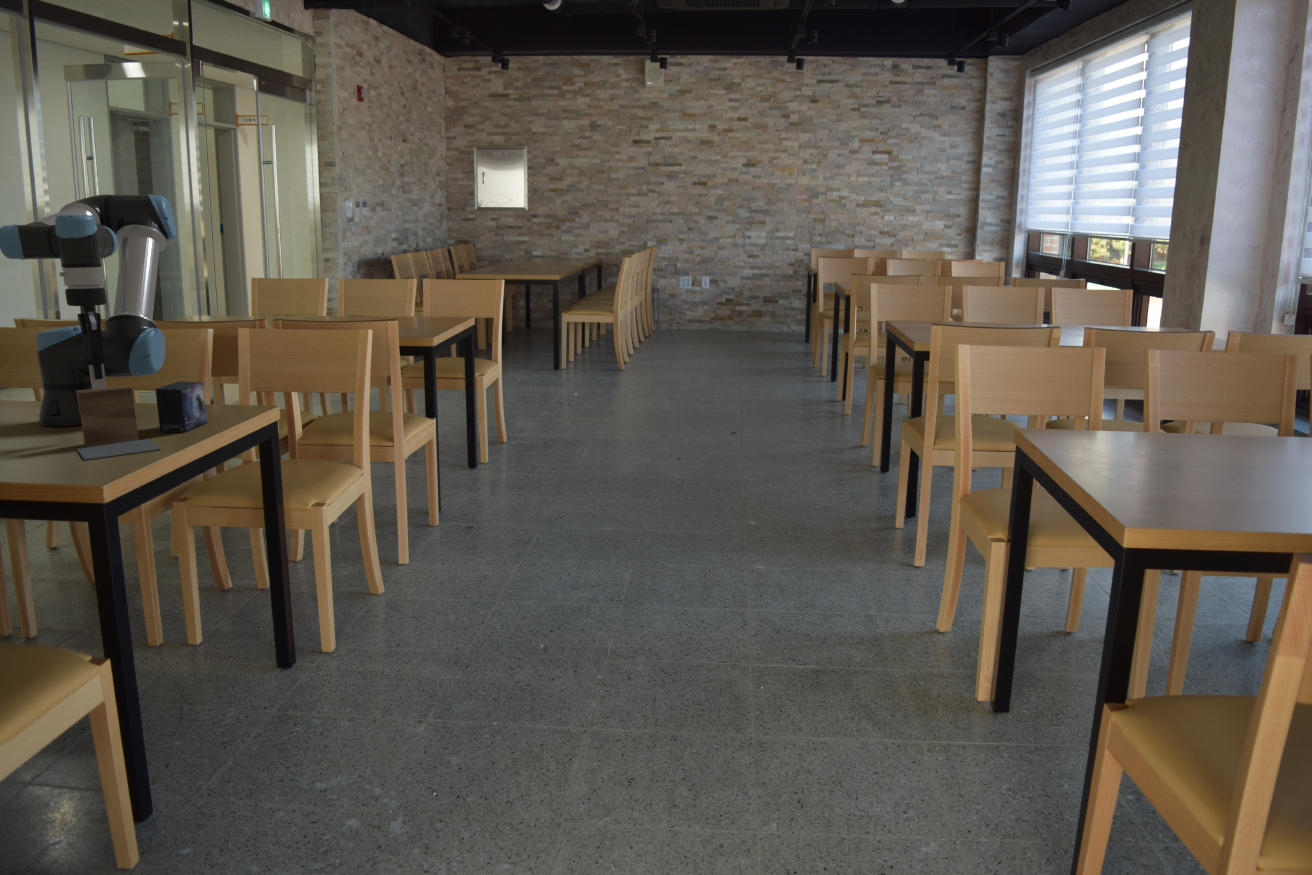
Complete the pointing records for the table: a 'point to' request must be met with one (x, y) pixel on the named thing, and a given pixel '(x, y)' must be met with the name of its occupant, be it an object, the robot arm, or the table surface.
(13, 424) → the table surface
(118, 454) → the mat
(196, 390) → the small box
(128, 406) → the brown rectangular box
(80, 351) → the robot arm
